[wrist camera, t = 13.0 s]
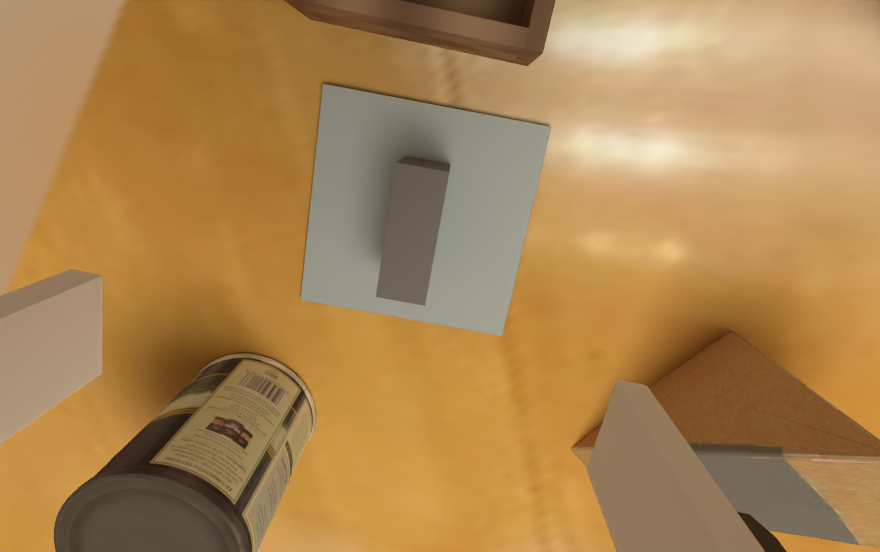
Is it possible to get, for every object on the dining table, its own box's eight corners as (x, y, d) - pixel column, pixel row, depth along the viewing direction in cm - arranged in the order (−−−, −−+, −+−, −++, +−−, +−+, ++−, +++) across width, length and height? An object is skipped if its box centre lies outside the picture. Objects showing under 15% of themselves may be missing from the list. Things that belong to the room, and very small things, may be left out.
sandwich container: (565, 446, 40) (625, 625, 26) (728, 326, 37) (903, 455, 22) (631, 512, 42) (722, 716, 27) (793, 403, 38) (995, 569, 24)
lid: (548, 126, 34) (571, 127, 27) (500, 330, 38) (510, 374, 31) (326, 84, 33) (294, 74, 26) (304, 295, 38) (271, 332, 31)
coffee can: (191, 458, 41) (63, 619, 28) (186, 345, 38) (40, 463, 25) (315, 472, 41) (246, 640, 28) (320, 360, 38) (245, 487, 25)
